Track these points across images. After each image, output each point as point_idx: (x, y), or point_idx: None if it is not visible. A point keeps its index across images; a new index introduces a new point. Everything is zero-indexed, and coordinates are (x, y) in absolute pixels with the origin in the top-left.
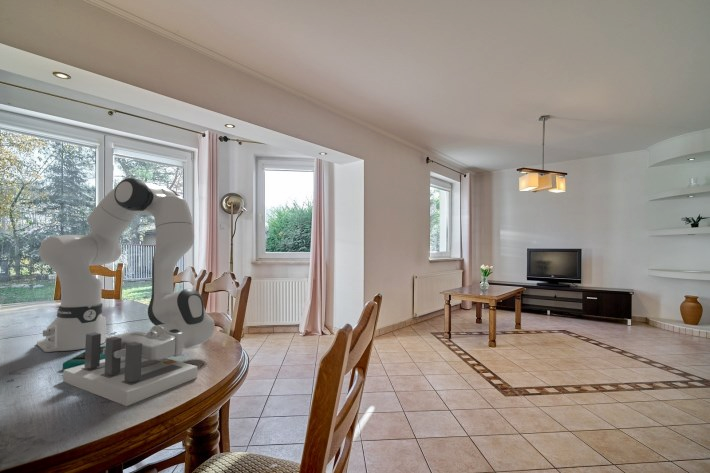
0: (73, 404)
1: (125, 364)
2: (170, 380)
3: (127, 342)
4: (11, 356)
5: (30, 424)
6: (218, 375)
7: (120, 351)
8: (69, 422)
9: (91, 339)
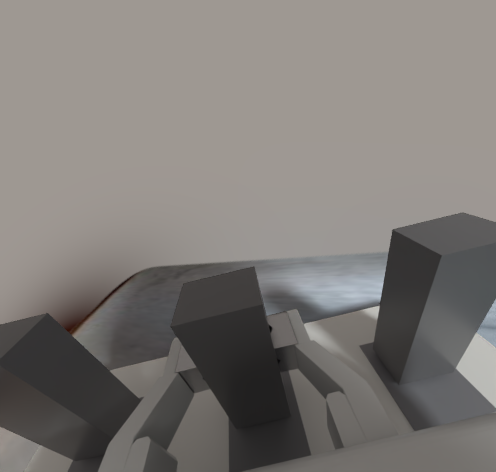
0: None
1: (109, 373)
2: None
3: (271, 465)
4: None
5: (211, 276)
6: None
7: (170, 358)
8: (166, 305)
9: (393, 248)
